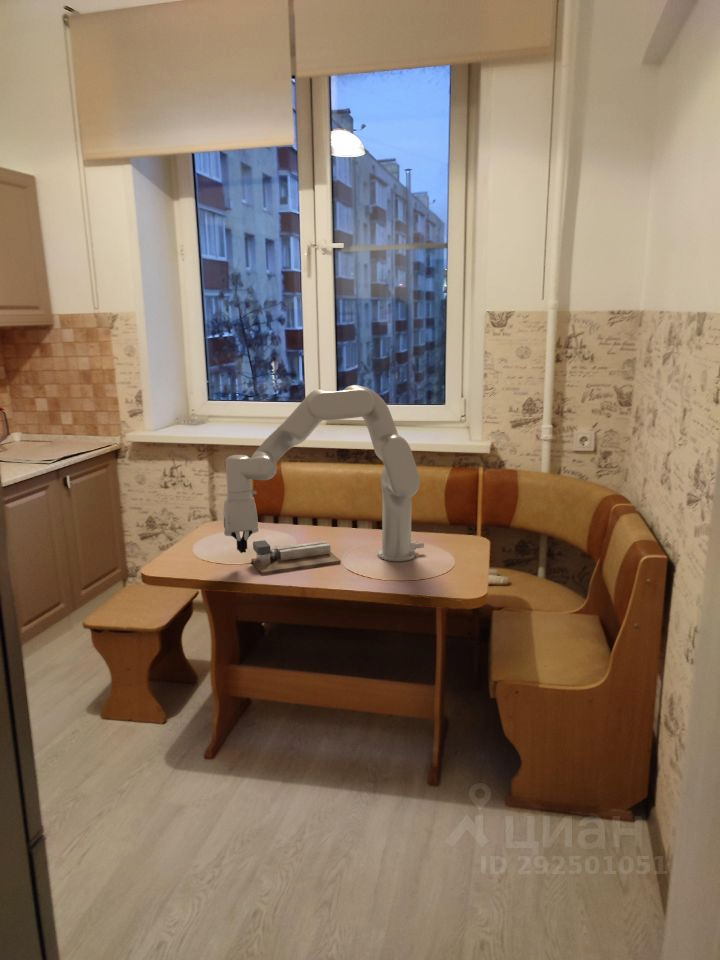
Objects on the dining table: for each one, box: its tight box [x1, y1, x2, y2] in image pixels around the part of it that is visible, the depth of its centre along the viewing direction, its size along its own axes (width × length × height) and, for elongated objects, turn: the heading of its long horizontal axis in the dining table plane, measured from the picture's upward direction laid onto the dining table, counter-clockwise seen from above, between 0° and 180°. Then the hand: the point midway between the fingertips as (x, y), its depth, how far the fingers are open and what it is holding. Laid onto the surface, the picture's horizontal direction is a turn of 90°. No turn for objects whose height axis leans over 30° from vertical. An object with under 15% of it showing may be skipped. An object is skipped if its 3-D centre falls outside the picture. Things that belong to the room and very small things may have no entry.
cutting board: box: [251, 551, 342, 576], centre depth 216 cm, size 26×13×1 cm, turn 113°
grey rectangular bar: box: [270, 542, 332, 561], centre depth 218 cm, size 20×4×3 cm, turn 114°
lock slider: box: [252, 539, 271, 555], centre depth 213 cm, size 4×6×2 cm, turn 23°
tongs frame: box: [255, 540, 328, 565], centre depth 217 cm, size 24×6×3 cm, turn 113°
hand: (242, 551), depth 210 cm, fingers closed
